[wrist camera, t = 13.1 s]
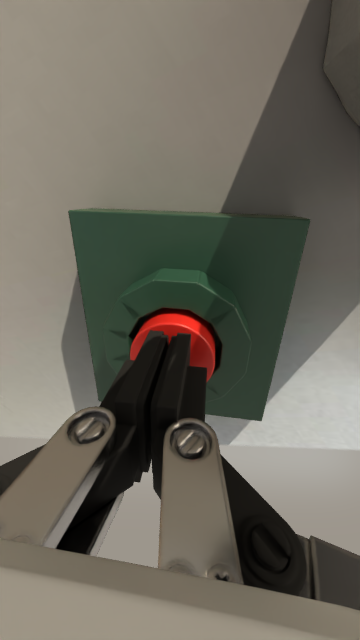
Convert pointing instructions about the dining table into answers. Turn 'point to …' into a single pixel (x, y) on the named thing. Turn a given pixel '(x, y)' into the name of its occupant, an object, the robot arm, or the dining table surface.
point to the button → (181, 323)
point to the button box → (191, 290)
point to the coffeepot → (345, 54)
